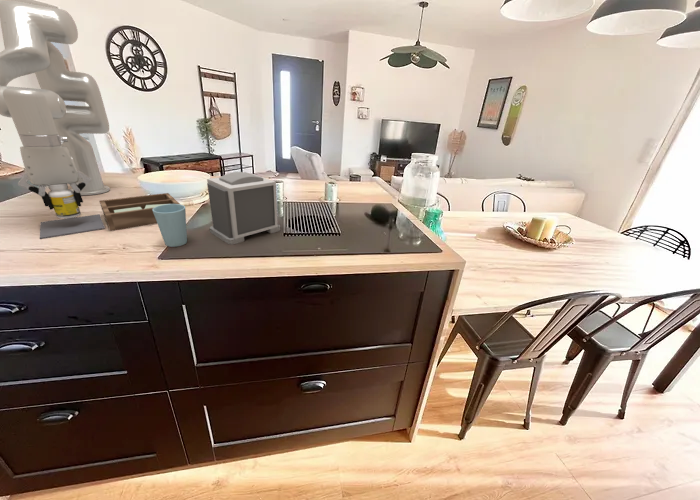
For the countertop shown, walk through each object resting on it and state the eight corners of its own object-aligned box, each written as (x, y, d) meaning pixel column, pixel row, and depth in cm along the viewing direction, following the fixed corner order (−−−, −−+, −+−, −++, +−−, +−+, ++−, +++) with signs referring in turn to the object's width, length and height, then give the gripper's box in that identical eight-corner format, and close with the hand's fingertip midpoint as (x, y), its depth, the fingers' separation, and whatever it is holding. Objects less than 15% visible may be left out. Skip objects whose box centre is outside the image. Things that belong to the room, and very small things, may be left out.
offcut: (117, 223, 93) (113, 210, 91) (143, 219, 97) (140, 206, 95) (119, 227, 90) (115, 213, 88) (146, 223, 94) (142, 210, 92)
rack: (103, 215, 98) (99, 200, 95) (170, 205, 110) (168, 193, 108) (110, 231, 87) (105, 215, 85) (183, 219, 100) (181, 204, 97)
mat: (41, 223, 88) (40, 221, 88) (99, 215, 97) (99, 214, 97) (40, 239, 79) (39, 237, 79) (105, 228, 88) (104, 227, 88)
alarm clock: (259, 219, 105) (256, 167, 97) (282, 230, 97) (280, 175, 89) (208, 231, 92) (200, 173, 84) (230, 245, 85) (222, 182, 76)
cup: (173, 235, 87) (166, 202, 83) (197, 239, 86) (191, 205, 82) (154, 246, 81) (145, 210, 76) (179, 250, 80) (172, 214, 75)
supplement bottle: (52, 216, 85) (39, 183, 81) (73, 211, 90) (62, 180, 86) (64, 220, 84) (51, 186, 79) (85, 214, 88) (74, 182, 84)
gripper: (82, 139, 85) (101, 199, 93) (-5, 140, 75) (24, 207, 83) (85, 142, 81) (104, 205, 89) (-9, 143, 70) (23, 215, 78)
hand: (65, 206), depth 85 cm, fingers closed on supplement bottle, 5 cm apart
